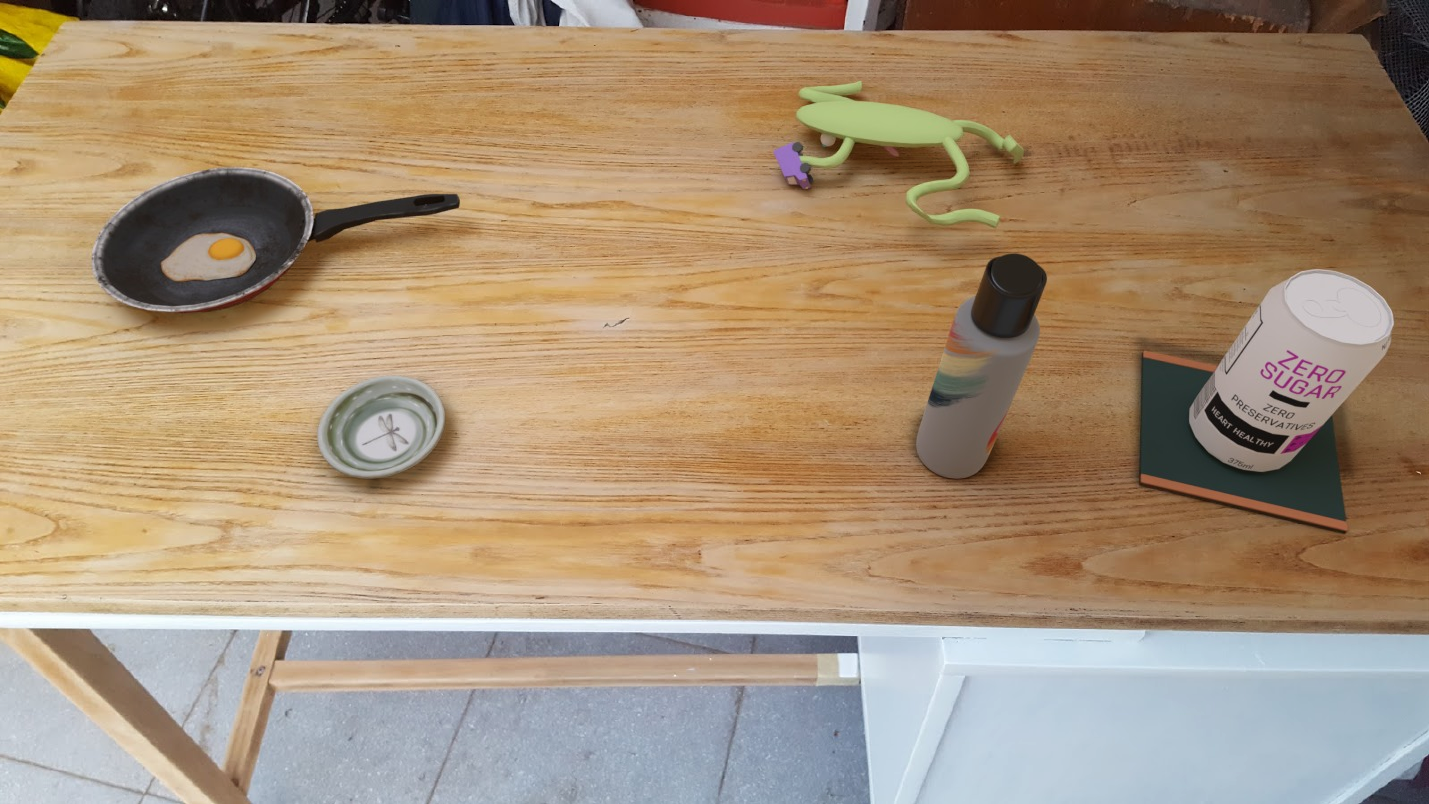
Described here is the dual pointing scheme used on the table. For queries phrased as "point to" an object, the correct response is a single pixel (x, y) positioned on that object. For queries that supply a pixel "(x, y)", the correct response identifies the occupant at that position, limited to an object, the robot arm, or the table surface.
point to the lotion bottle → (981, 367)
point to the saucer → (381, 427)
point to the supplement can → (1291, 369)
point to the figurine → (887, 142)
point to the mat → (1192, 471)
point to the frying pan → (223, 237)
